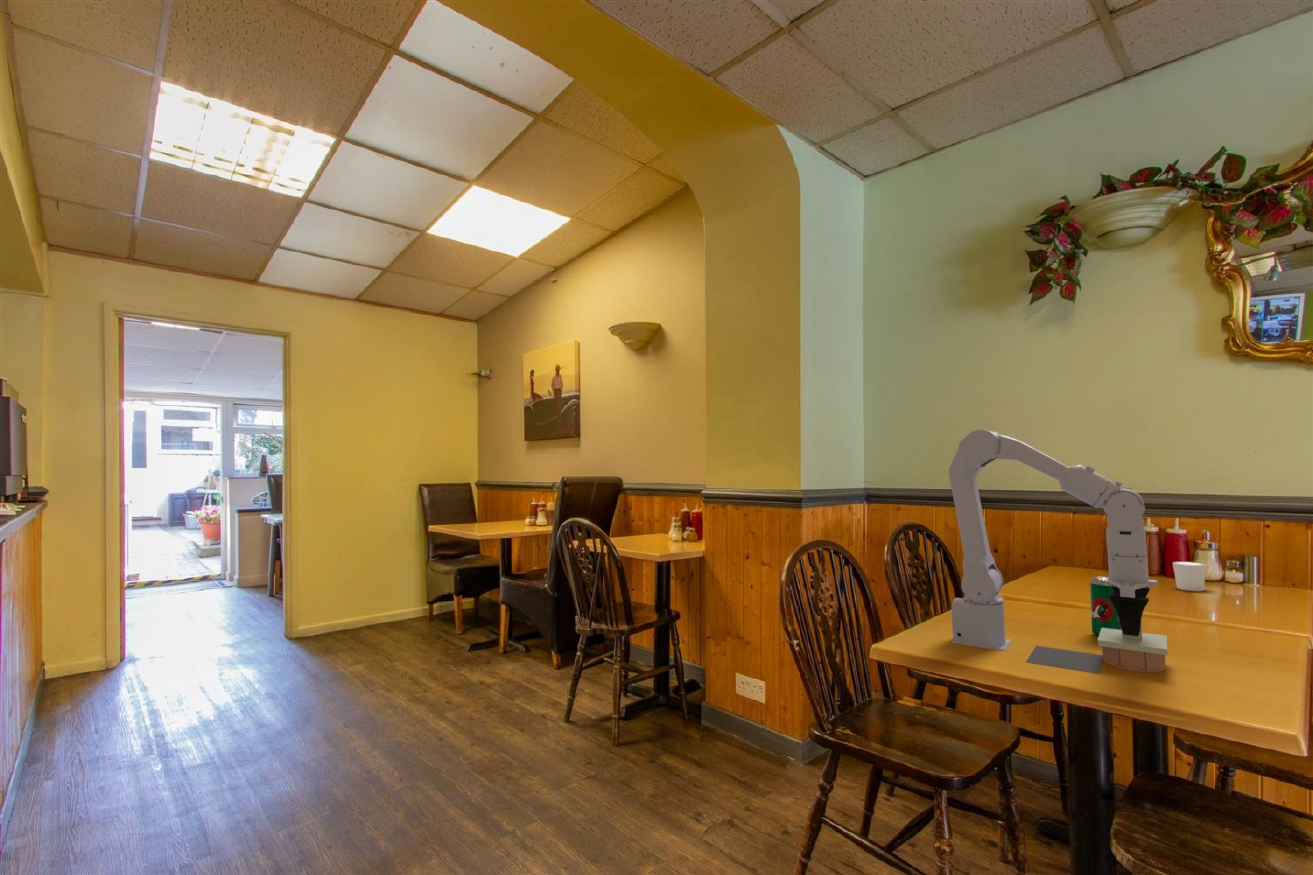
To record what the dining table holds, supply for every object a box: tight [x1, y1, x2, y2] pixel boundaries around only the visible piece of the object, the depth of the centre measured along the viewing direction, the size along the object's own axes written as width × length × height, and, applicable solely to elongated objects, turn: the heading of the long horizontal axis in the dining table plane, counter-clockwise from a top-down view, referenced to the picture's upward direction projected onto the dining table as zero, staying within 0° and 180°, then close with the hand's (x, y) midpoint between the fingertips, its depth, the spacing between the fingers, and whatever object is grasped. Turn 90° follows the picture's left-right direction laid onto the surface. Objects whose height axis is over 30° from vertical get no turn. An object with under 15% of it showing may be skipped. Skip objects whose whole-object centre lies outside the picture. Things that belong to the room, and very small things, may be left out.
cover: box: [1097, 622, 1168, 656], centre depth 110 cm, size 10×10×5 cm
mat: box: [1025, 645, 1104, 675], centre depth 113 cm, size 11×12×1 cm
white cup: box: [1172, 561, 1206, 592], centre depth 166 cm, size 7×7×7 cm
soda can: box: [1089, 576, 1122, 637], centre depth 127 cm, size 5×5×12 cm
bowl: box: [1101, 646, 1167, 673], centre depth 110 cm, size 9×9×4 cm
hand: (1131, 629), depth 110 cm, fingers open, 7 cm apart
